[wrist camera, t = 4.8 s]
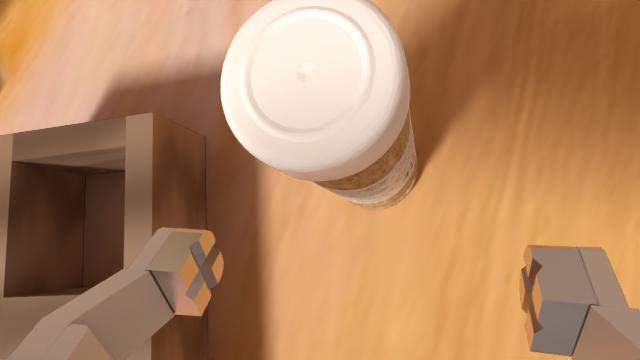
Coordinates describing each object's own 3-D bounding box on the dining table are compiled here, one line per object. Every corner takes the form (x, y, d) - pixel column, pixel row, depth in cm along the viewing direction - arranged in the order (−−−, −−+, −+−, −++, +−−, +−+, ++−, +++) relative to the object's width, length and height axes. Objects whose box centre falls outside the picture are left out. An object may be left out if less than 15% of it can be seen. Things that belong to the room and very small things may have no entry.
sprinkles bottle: (353, 116, 23) (260, -43, 10) (433, 145, 22) (440, 5, 9) (320, 192, 23) (183, 129, 10) (399, 226, 22) (355, 202, 9)
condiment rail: (210, 507, 22) (149, 581, 17) (53, 492, 24) (-39, 553, 20) (204, 136, 25) (152, 112, 20) (67, 155, 28) (-9, 136, 23)
